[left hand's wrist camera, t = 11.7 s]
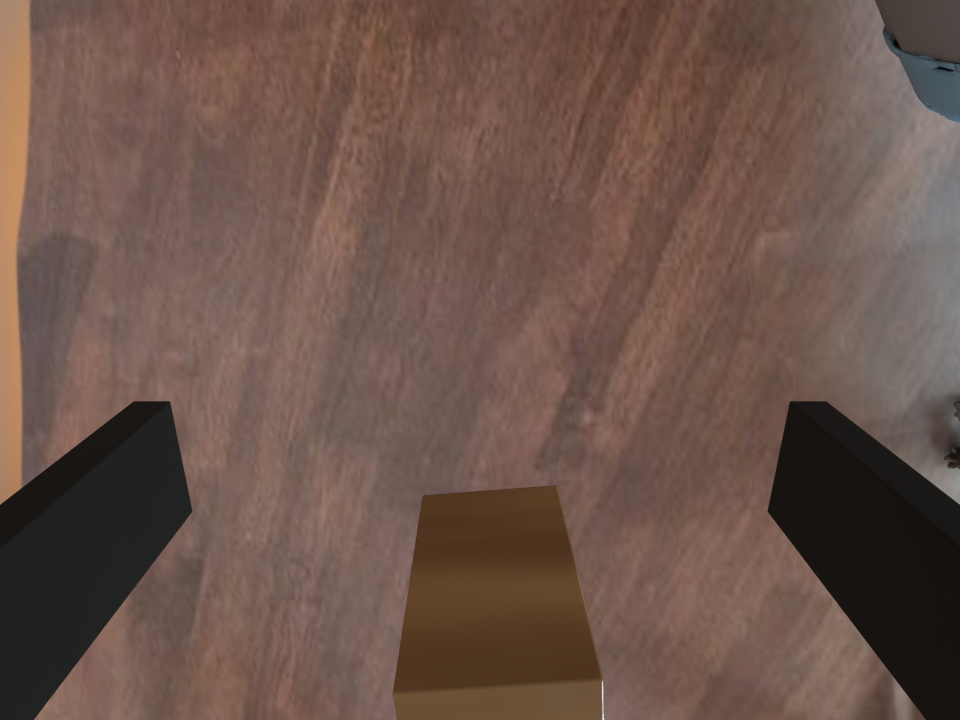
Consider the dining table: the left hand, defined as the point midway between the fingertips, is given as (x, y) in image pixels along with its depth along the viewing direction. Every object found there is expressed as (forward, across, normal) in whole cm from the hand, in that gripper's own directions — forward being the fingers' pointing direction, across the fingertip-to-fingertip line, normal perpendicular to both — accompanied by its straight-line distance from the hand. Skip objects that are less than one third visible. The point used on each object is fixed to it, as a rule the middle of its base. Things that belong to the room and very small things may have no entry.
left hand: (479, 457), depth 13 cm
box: (+11, +1, -20) cm, 23 cm away
